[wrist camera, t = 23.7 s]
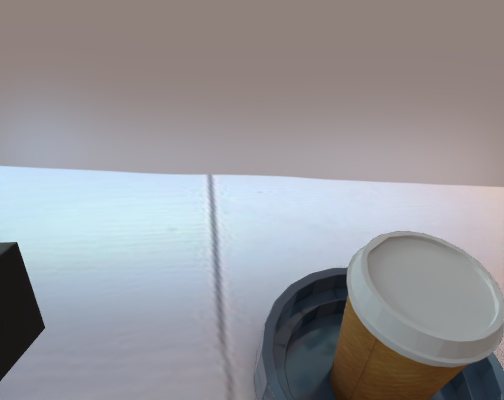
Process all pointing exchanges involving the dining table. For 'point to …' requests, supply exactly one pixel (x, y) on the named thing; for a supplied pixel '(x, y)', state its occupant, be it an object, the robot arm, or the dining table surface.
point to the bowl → (334, 347)
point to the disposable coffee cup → (413, 318)
